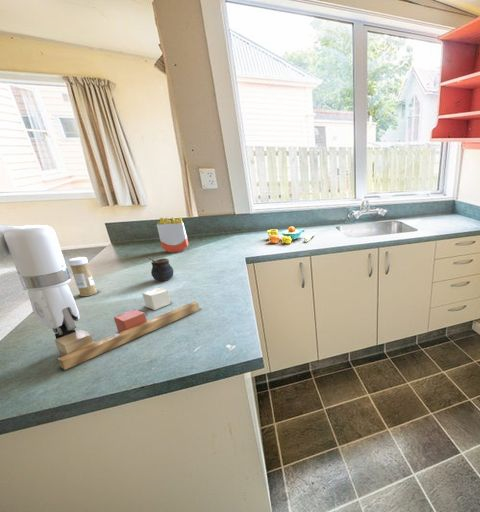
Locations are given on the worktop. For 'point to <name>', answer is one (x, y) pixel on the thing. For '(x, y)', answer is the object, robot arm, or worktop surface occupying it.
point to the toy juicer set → (287, 235)
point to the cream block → (156, 298)
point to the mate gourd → (161, 269)
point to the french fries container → (172, 235)
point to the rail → (125, 336)
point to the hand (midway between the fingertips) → (69, 345)
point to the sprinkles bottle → (82, 276)
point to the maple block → (73, 342)
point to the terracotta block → (129, 320)
